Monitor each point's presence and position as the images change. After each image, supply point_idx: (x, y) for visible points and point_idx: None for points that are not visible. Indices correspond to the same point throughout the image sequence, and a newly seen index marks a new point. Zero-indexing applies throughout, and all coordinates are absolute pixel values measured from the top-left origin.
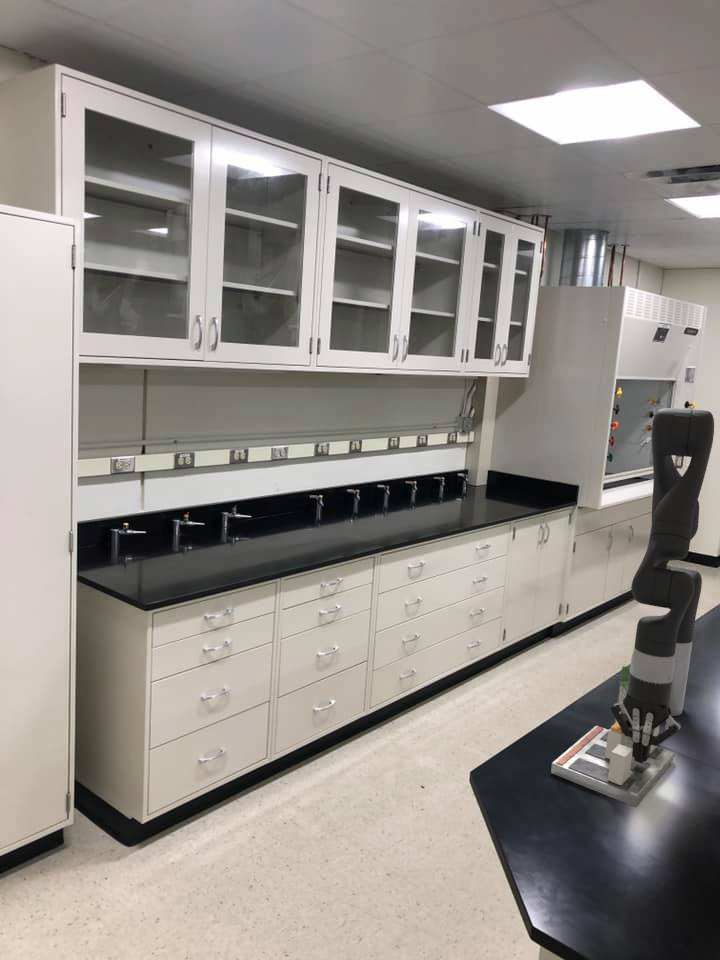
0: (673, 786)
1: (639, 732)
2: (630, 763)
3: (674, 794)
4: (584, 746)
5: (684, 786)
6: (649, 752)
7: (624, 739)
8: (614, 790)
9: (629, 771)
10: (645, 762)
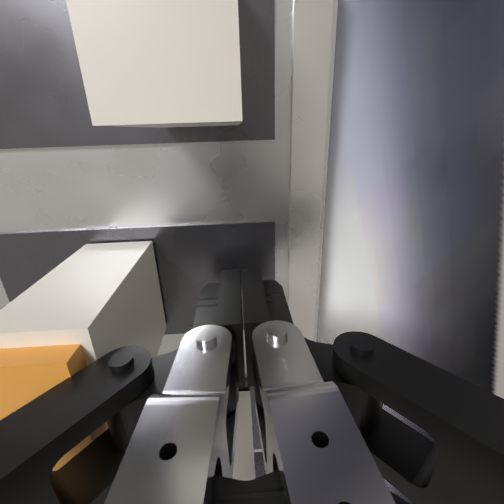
0: (368, 224)
1: (232, 475)
2: (253, 448)
3: (381, 275)
4: None
5: (405, 189)
6: (285, 303)
7: (128, 338)
8: None
9: (251, 415)
10: (252, 229)
